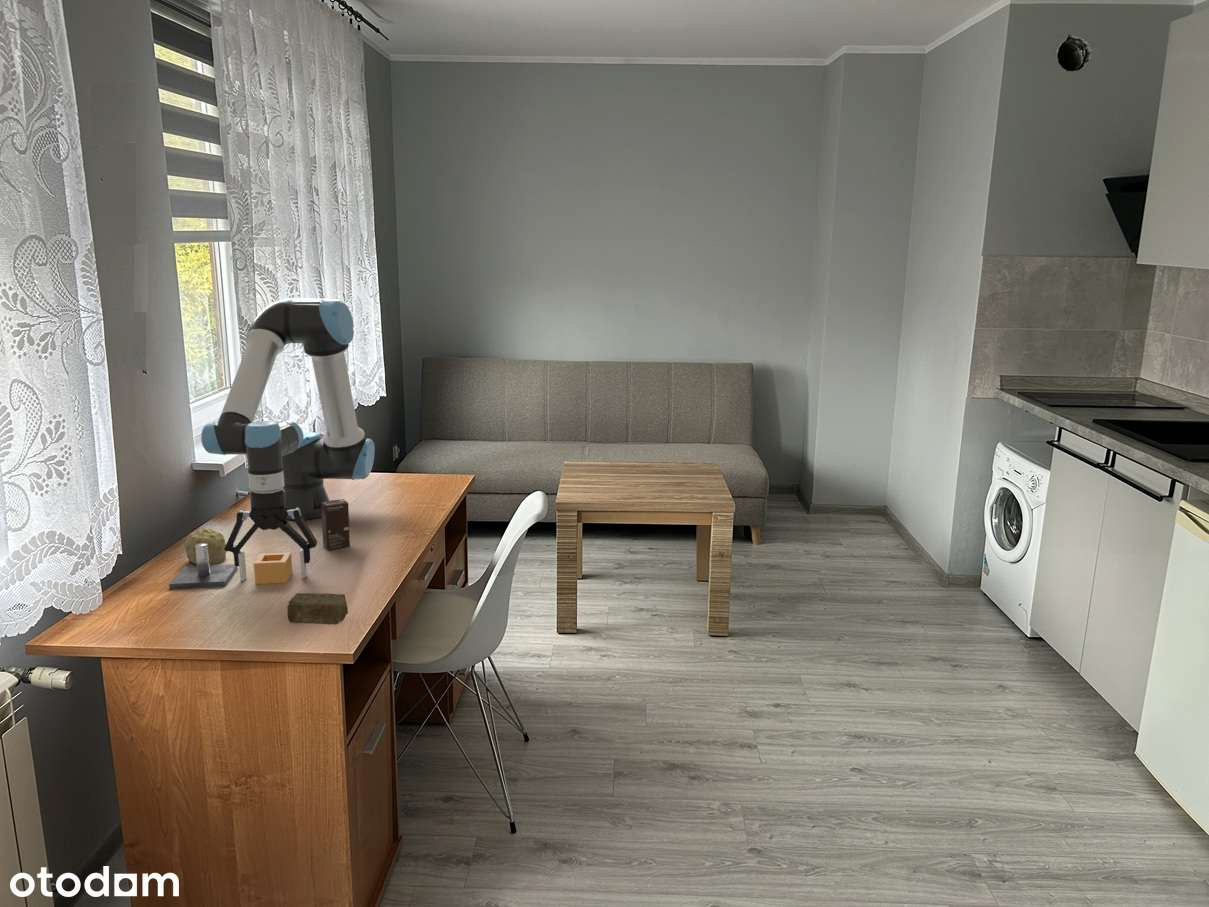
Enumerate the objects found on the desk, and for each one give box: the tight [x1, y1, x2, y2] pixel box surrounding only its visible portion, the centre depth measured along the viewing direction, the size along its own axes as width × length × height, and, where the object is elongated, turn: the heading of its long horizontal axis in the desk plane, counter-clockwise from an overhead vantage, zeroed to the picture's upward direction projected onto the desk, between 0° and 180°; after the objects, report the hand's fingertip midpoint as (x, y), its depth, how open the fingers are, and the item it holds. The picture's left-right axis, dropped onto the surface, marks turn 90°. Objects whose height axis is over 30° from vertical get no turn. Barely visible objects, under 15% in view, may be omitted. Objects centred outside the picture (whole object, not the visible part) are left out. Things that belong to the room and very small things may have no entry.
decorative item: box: [184, 527, 227, 566], centre depth 227 cm, size 10×10×10 cm
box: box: [321, 498, 351, 551], centre depth 236 cm, size 6×4×12 cm
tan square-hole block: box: [253, 551, 293, 585], centre depth 214 cm, size 7×7×5 cm
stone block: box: [287, 592, 349, 625], centre depth 191 cm, size 6×12×5 cm, turn 86°
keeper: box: [168, 543, 239, 590], centre depth 214 cm, size 12×12×8 cm
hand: (274, 577), depth 215 cm, fingers open, 13 cm apart
